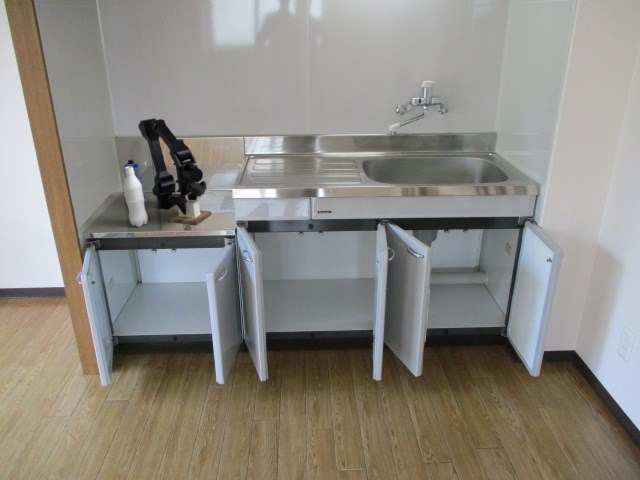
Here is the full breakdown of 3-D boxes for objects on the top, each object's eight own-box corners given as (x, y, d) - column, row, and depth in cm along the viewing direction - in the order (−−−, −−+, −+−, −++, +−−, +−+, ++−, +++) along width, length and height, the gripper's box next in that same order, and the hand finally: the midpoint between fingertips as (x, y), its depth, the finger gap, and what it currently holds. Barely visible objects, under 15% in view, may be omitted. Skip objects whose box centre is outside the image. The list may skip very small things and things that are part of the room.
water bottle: (134, 221, 215) (123, 164, 204) (151, 220, 215) (140, 164, 204) (128, 227, 209) (116, 170, 198) (145, 227, 208) (134, 169, 198)
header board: (168, 221, 214) (166, 210, 212) (183, 211, 224) (182, 200, 222) (197, 225, 210) (195, 214, 208) (211, 214, 220) (210, 203, 218)
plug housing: (179, 215, 216) (177, 202, 213) (184, 211, 219) (182, 198, 217) (195, 217, 213) (193, 204, 211) (200, 213, 217) (198, 200, 215)
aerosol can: (145, 197, 241) (138, 156, 233) (147, 202, 235) (140, 161, 226) (128, 200, 239) (120, 159, 230) (130, 205, 232) (121, 163, 224)
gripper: (189, 185, 199) (194, 222, 206) (212, 171, 215) (216, 205, 221) (165, 183, 202) (170, 219, 209) (190, 169, 218) (194, 203, 225)
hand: (189, 211), depth 216 cm, fingers open, 7 cm apart
